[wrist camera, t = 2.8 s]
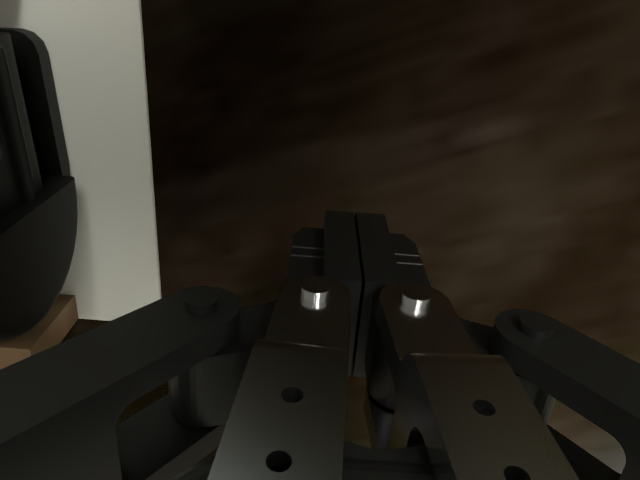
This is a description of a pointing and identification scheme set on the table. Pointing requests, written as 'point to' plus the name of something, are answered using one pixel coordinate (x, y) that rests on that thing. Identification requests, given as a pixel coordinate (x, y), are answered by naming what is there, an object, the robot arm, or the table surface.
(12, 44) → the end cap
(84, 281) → the plate
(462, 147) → the table surface
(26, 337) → the channel walls
